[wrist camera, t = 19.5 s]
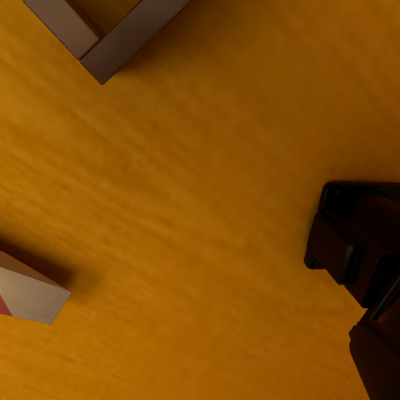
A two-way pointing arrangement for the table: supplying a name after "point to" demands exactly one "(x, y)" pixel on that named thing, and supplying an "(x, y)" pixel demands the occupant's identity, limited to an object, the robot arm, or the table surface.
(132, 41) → the rectangular frame
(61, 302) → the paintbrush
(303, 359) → the table surface
